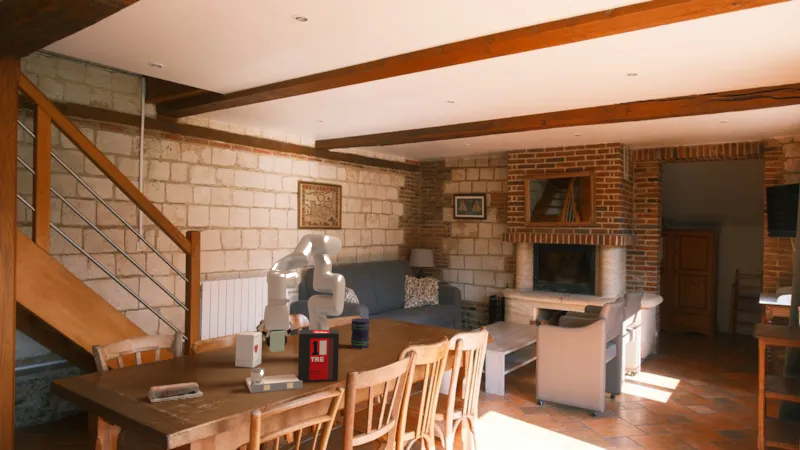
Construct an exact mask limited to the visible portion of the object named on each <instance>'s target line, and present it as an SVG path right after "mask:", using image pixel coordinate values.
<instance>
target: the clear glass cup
mask: <svg viewBox="0 0 800 450" xmlns="http://www.w3.org/2000/svg"><path fill="white" fill-rule="evenodd" d="M265 373H266V368H264V367H253V368H250V378H251V385H256V384H264V378H265V375H266V374H265Z"/></svg>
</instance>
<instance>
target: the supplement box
mask: <svg viewBox="0 0 800 450" xmlns="http://www.w3.org/2000/svg"><path fill="white" fill-rule="evenodd" d="M262 346H263V334H262V333H261V332H260V331H255V330H254V331H252V330H245V331H241V332H239V333H236V339H235V364H234V365H235V367H237V368H238V367H239V368H249V369H252V368H256V367H257V366H260V365H261V364H262V354H263V353H262V349H263V348H262Z"/></svg>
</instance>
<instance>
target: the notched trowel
mask: <svg viewBox="0 0 800 450" xmlns="http://www.w3.org/2000/svg"><path fill="white" fill-rule="evenodd" d="M199 388H200V386H199V384H198V383H197V382H195V381H194V382H193V381H192V382H181V383H173V384H165V385H157V386H156V385H155V386H150V389H149V390H148V394H147V395H148V396H147V398H148V397H149V398H148V399H150V400H149V402H150V401H151V402H160V403H162V402H161V401H168V402H170V401H169V400H175V401H179V400H178V399H182V400H187V399H186V398H189V399H194V397H195V398H201V396H202V397H203V396H204V392H203V391H202V390H200V389H199ZM151 402H150V403H151Z"/></svg>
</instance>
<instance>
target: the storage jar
mask: <svg viewBox="0 0 800 450" xmlns="http://www.w3.org/2000/svg"><path fill="white" fill-rule="evenodd" d="M350 325H351V337H350V343H351V344H350V345H351V346H350V348H351V347H352V348H351V349H353V348H358V349H357V350H363V349H362V348H367V349H369V348H370V337H369V336H370V334H369V333H370V332H369V331H370V319H369V318H359V317H358V318H352V319H351V324H350ZM368 347H369V348H368Z"/></svg>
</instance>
